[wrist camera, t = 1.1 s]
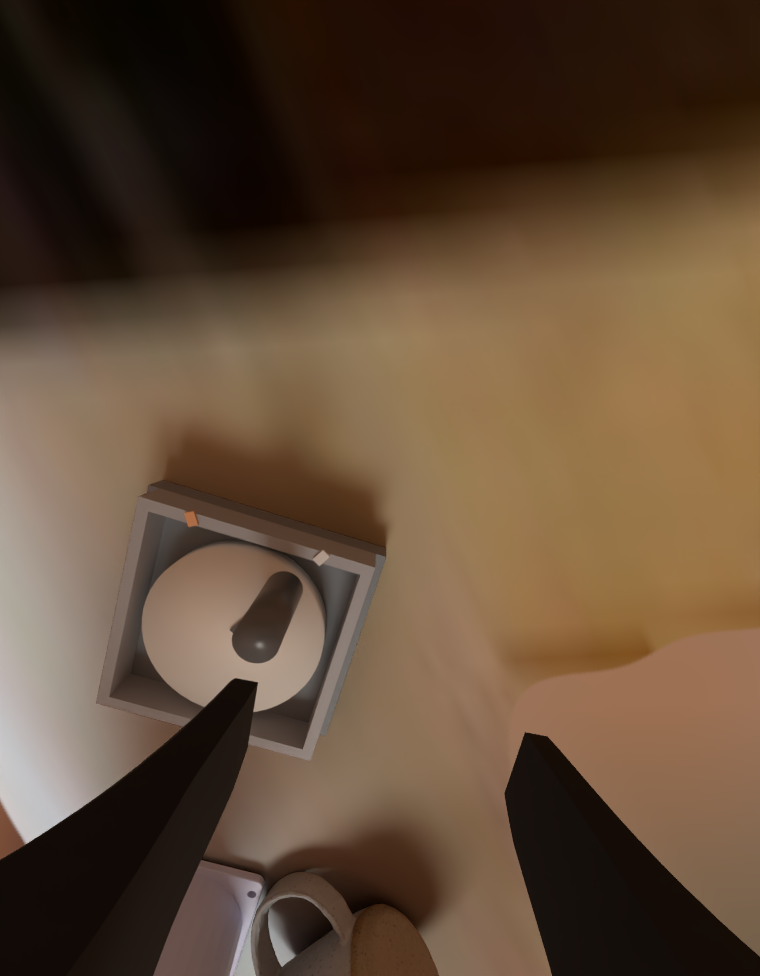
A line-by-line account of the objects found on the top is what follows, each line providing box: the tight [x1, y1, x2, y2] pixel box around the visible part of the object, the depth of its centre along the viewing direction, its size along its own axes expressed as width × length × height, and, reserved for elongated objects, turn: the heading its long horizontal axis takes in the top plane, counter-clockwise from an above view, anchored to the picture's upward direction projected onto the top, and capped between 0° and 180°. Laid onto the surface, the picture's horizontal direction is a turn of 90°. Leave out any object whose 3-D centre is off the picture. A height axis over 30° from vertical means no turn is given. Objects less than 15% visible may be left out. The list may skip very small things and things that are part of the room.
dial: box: [142, 540, 327, 712], centre depth 16 cm, size 8×8×5 cm
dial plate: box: [96, 480, 386, 761], centre depth 19 cm, size 10×11×3 cm
